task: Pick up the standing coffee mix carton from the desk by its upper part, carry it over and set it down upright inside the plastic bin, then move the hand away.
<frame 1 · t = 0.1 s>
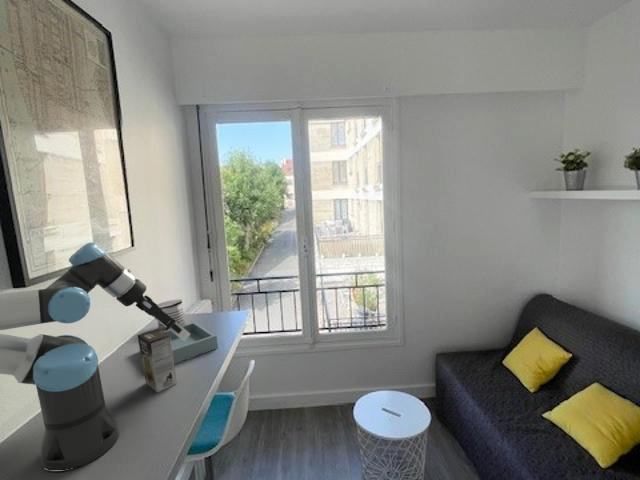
hand: (179, 331, 108), 15 cm above the table, tool tilted 35°, fingers open, 13 cm apart
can: (172, 328, 156), on the table
coffee box: (161, 384, 108), on the table
bin: (178, 349, 131), on the table
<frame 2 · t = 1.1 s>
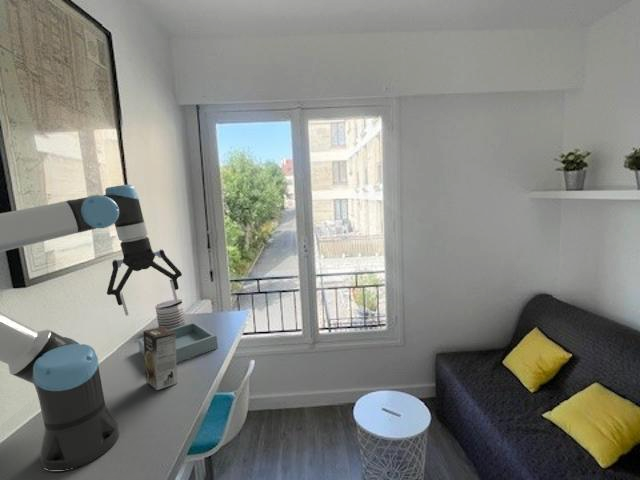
hand: (152, 307, 104), 25 cm above the table, tool pointing down, fingers open, 13 cm apart
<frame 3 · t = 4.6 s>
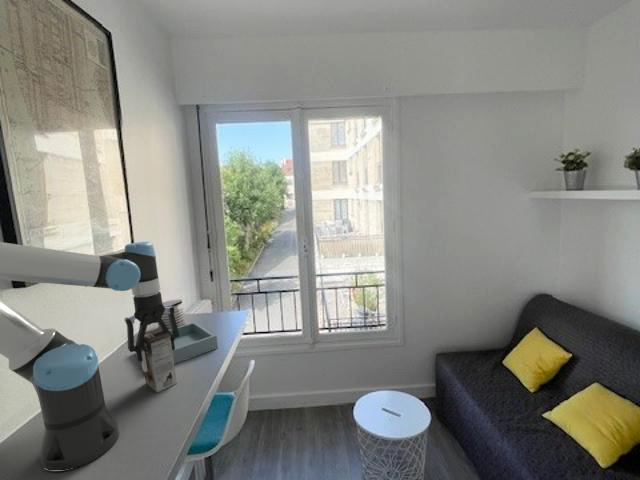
hand: (158, 365, 107), 6 cm above the table, tool pointing down, fingers closed on coffee box, 7 cm apart
coffee box: (161, 384, 108), on the table, touching gripper
everything else where it was.
when the fingers open (9 cm above the table, at t = 11.3 s): coffee box drops 2 cm, resting on bin.
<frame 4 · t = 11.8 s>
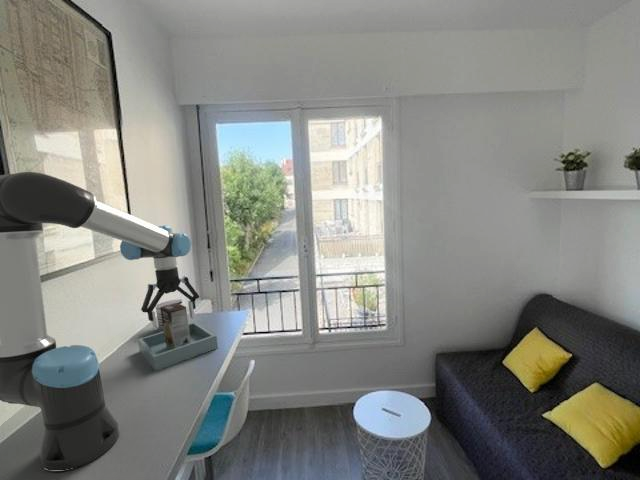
hand: (174, 323, 130), 11 cm above the table, tool pointing down, fingers open, 13 cm apart
coffee box: (178, 347, 131), point 1 cm above the table, touching bin
everything else where it was.
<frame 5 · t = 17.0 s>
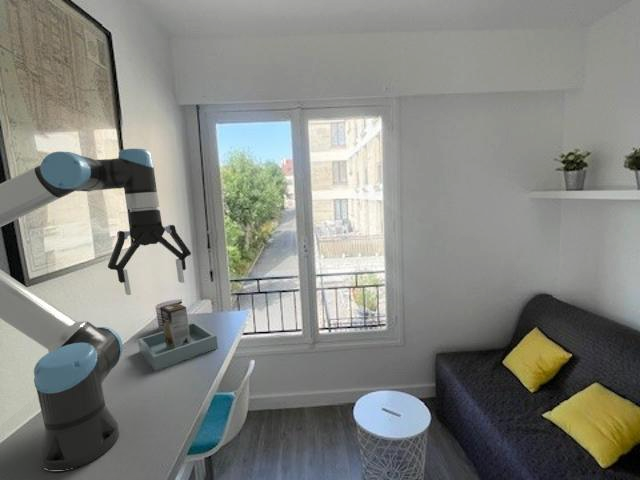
hand: (156, 287, 94), 33 cm above the table, tool pointing down, fingers open, 13 cm apart
nothing on the table moved.
at the end: coffee box inside the target area on the bin (0.2 cm from its centre), point 0.8 cm above the bin's base; coffee box tilted 0°; the gripper is holding nothing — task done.
